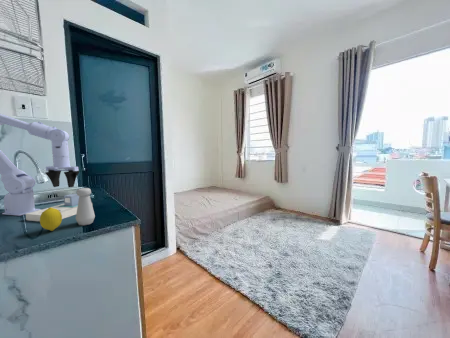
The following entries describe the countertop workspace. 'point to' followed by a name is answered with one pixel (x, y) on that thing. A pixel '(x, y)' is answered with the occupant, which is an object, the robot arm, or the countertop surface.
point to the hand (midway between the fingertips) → (63, 186)
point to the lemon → (50, 219)
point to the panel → (64, 210)
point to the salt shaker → (84, 207)
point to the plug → (71, 200)
